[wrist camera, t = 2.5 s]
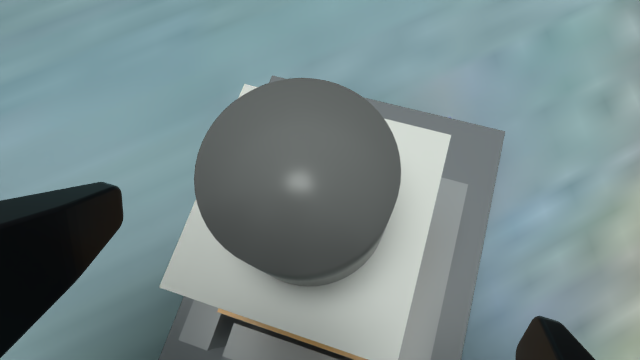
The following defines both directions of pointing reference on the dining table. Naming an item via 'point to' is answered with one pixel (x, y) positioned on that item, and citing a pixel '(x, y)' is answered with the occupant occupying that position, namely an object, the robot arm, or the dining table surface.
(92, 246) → the robot arm
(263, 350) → the socket panel
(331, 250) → the plug
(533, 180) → the dining table surface
